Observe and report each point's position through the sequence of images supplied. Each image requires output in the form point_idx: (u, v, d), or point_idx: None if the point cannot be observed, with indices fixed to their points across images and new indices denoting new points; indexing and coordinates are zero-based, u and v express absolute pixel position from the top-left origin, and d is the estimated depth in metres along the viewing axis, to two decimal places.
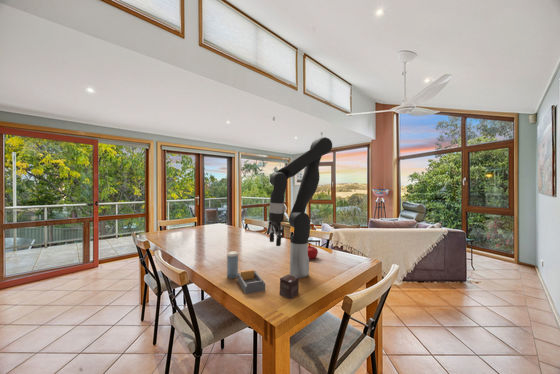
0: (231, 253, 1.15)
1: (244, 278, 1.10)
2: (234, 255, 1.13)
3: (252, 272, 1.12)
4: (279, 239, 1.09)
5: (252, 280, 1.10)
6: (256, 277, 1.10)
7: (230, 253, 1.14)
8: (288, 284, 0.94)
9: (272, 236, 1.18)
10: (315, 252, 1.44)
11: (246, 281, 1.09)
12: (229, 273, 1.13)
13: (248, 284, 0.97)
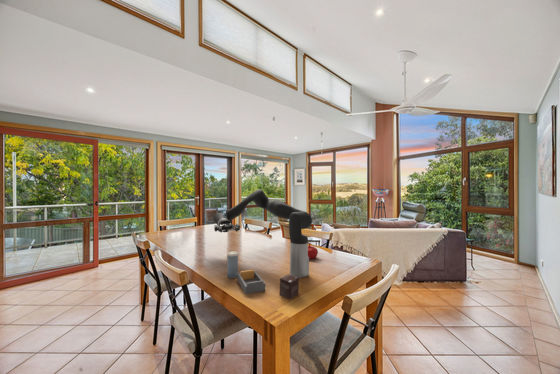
0: (231, 253, 1.15)
1: (244, 278, 1.10)
2: (234, 255, 1.13)
3: (252, 272, 1.12)
4: (237, 228, 1.30)
5: (252, 280, 1.10)
6: (256, 277, 1.10)
7: (230, 253, 1.15)
8: (288, 284, 0.94)
9: None
10: (315, 252, 1.44)
11: (246, 281, 1.09)
12: (229, 273, 1.13)
13: (248, 284, 0.97)
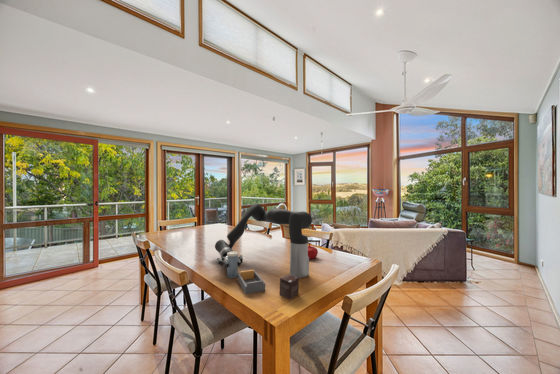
0: (231, 253, 1.15)
1: (244, 278, 1.10)
2: (234, 255, 1.13)
3: (252, 272, 1.12)
4: None
5: (252, 280, 1.10)
6: (256, 277, 1.10)
7: (230, 253, 1.14)
8: (288, 284, 0.94)
9: None
10: (315, 252, 1.44)
11: (246, 281, 1.09)
12: (229, 273, 1.13)
13: (248, 284, 0.97)
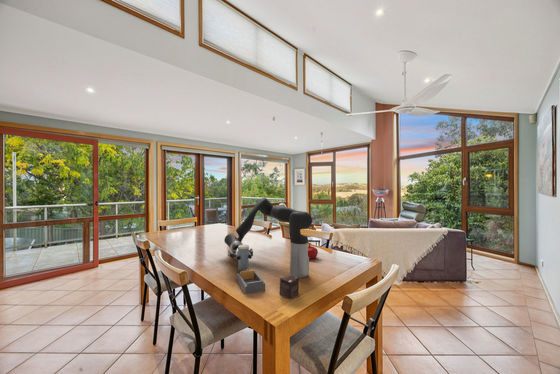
0: (242, 246, 1.18)
1: (244, 278, 1.10)
2: (245, 248, 1.17)
3: (252, 272, 1.12)
4: (250, 254, 1.21)
5: (252, 280, 1.10)
6: (256, 277, 1.10)
7: (241, 246, 1.18)
8: (288, 284, 0.94)
9: None
10: (315, 252, 1.44)
11: (246, 281, 1.09)
12: (240, 265, 1.17)
13: (248, 284, 0.97)
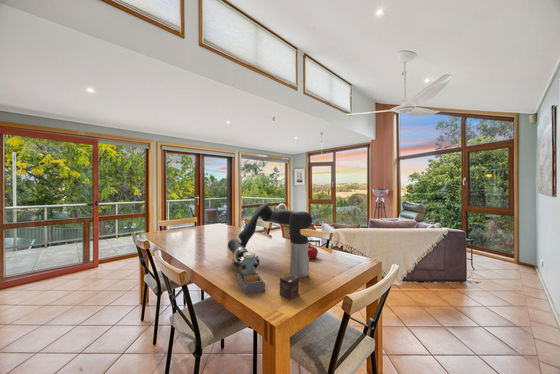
0: (248, 254, 1.07)
1: None
2: (251, 256, 1.06)
3: (256, 277, 1.06)
4: (256, 263, 1.11)
5: None
6: None
7: (247, 254, 1.07)
8: (288, 284, 0.94)
9: None
10: (315, 252, 1.44)
11: None
12: (246, 275, 1.06)
13: (248, 284, 0.97)
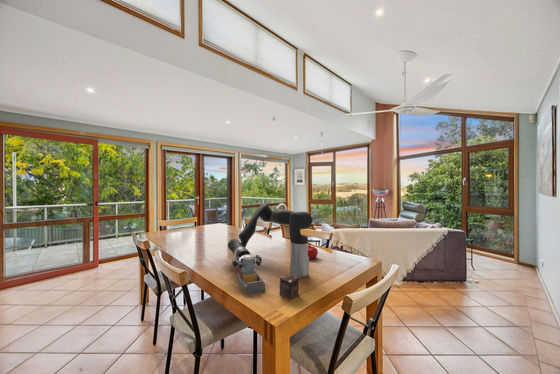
0: (247, 256, 1.09)
1: (247, 282, 1.06)
2: (250, 258, 1.07)
3: (255, 276, 1.07)
4: (259, 261, 1.12)
5: None
6: None
7: (246, 256, 1.09)
8: (288, 284, 0.94)
9: None
10: (315, 252, 1.44)
11: None
12: None
13: (248, 284, 0.97)
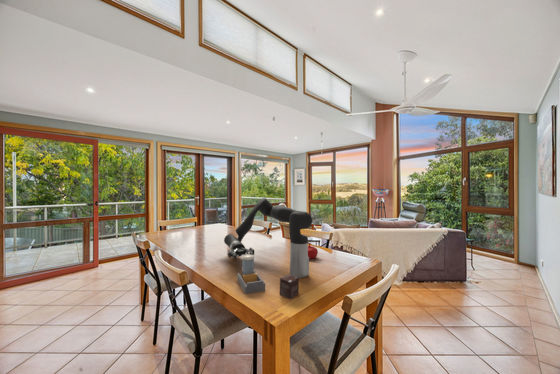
0: (247, 256, 1.09)
1: (247, 282, 1.06)
2: (250, 258, 1.07)
3: (255, 276, 1.07)
4: (252, 253, 1.23)
5: None
6: None
7: (246, 256, 1.09)
8: (288, 284, 0.94)
9: None
10: (315, 252, 1.44)
11: None
12: None
13: (248, 284, 0.97)
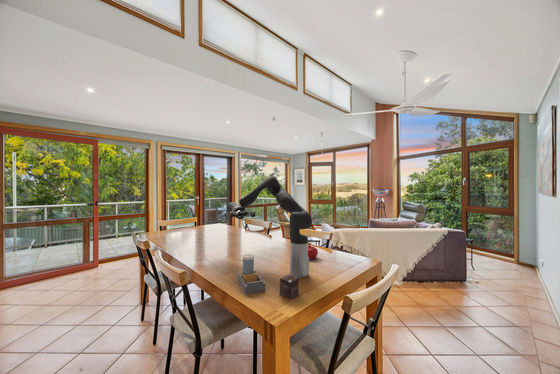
0: (247, 256, 1.09)
1: (247, 282, 1.06)
2: (250, 258, 1.07)
3: (255, 276, 1.07)
4: None
5: None
6: None
7: (246, 256, 1.09)
8: (288, 284, 0.94)
9: None
10: (315, 252, 1.44)
11: None
12: None
13: (248, 284, 0.97)
